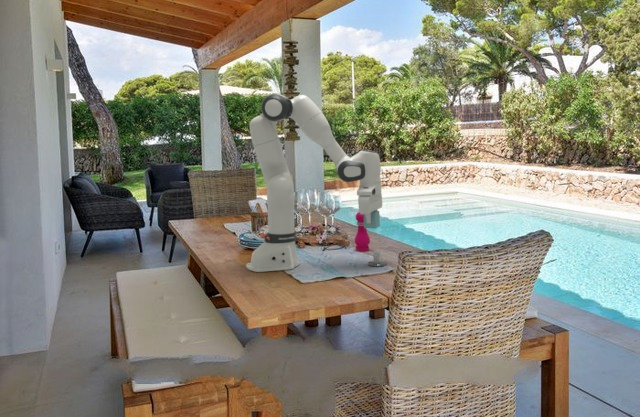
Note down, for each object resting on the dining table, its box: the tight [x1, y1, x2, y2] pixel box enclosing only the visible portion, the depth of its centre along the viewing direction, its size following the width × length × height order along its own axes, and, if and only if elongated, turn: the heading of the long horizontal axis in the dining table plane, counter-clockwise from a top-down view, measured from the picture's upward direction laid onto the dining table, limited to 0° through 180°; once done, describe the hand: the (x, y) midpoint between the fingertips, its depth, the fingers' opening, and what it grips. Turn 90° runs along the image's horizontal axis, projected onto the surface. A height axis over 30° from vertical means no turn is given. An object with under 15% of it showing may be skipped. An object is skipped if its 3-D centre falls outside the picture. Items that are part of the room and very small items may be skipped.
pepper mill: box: [354, 211, 371, 253], centre depth 277 cm, size 7×7×20 cm
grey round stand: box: [367, 250, 388, 268], centre depth 249 cm, size 8×8×6 cm
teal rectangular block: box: [364, 210, 381, 229], centre depth 248 cm, size 5×5×7 cm
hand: (371, 221), depth 248 cm, fingers closed on teal rectangular block, 5 cm apart
